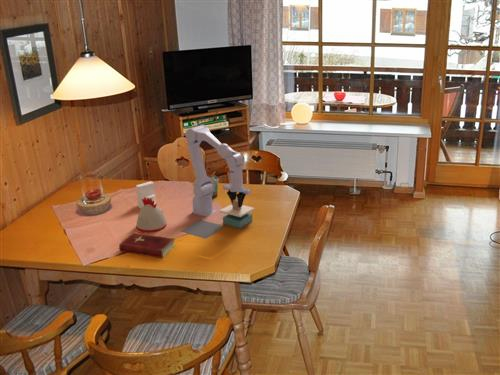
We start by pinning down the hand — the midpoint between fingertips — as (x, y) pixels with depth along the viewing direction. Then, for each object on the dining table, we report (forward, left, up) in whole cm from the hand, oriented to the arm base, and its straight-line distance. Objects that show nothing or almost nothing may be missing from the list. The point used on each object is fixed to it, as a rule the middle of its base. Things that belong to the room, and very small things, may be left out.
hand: (237, 205), depth 267 cm
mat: (-10, -14, -9) cm, 19 cm away
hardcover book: (-19, -42, -10) cm, 47 cm away
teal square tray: (0, 0, -9) cm, 9 cm away
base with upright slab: (-53, -6, -9) cm, 54 cm away
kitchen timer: (-33, -24, -9) cm, 42 cm away
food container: (-31, +22, -9) cm, 39 cm away
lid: (0, 0, -2) cm, 2 cm away
